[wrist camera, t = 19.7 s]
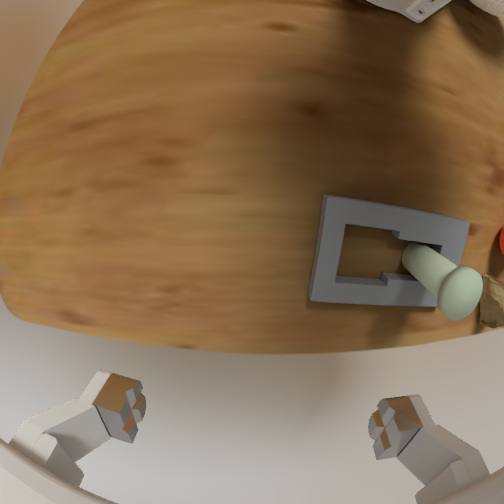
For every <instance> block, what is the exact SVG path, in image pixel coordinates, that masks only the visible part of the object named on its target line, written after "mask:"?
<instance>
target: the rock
mask: <svg viewBox="0 0 504 504" xmlns="http://www.w3.org/2000/svg"><path fill="white" fill-rule="evenodd" d="M479 301H480V313H481V315H480V320H479V324H481V325H483V326H487V327H491V328H496V327H499V326H504V284H503V283H502V282H501V281H499V280H498V279H497V278H495V277H494V276H493V275H491V274H488V273H487V274H485V273H484V274H483V290H482V294H481V297H480V300H479Z"/></svg>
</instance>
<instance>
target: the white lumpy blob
mask: <svg viewBox="0 0 504 504" xmlns="http://www.w3.org/2000/svg"><path fill="white" fill-rule="evenodd" d="M470 2H472V3H473V4H474V5H475V6H477V7H479V8H481V9H482V10H483V11H486V12H487V13H490V14H492V15H495V16H498V17H503V18H504V0H470Z"/></svg>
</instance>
